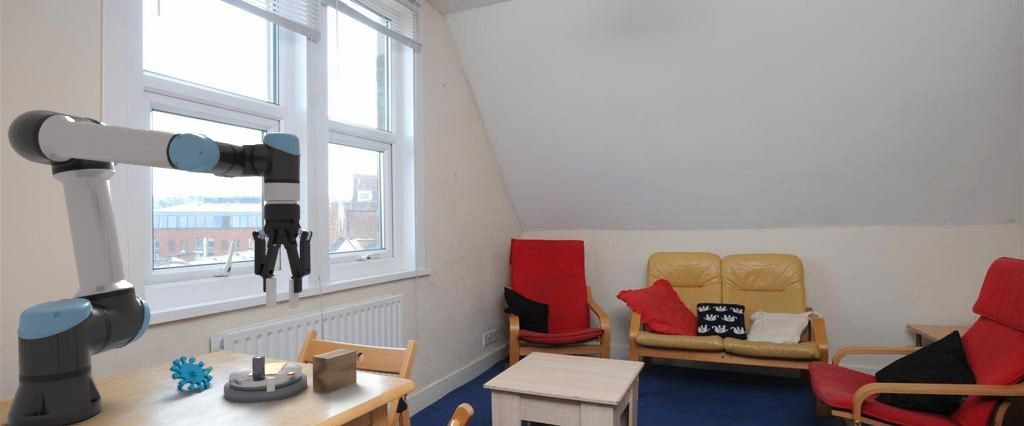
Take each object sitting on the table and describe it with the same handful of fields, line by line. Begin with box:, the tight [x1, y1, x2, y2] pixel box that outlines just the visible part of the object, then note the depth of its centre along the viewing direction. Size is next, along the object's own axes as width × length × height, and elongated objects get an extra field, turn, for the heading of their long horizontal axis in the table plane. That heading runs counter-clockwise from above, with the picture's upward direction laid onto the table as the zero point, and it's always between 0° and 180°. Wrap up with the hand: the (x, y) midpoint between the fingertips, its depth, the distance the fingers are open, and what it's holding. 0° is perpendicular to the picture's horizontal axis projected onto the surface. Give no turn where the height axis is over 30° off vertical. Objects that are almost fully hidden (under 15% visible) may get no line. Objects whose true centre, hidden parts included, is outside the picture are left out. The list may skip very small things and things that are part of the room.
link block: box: [312, 347, 358, 394], centre depth 136 cm, size 5×9×8 cm, turn 149°
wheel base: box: [223, 372, 308, 404], centre depth 133 cm, size 18×18×5 cm
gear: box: [169, 355, 214, 392], centre depth 135 cm, size 11×6×10 cm
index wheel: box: [228, 355, 303, 391], centre depth 133 cm, size 16×16×7 cm
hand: (282, 307), depth 126 cm, fingers open, 5 cm apart
